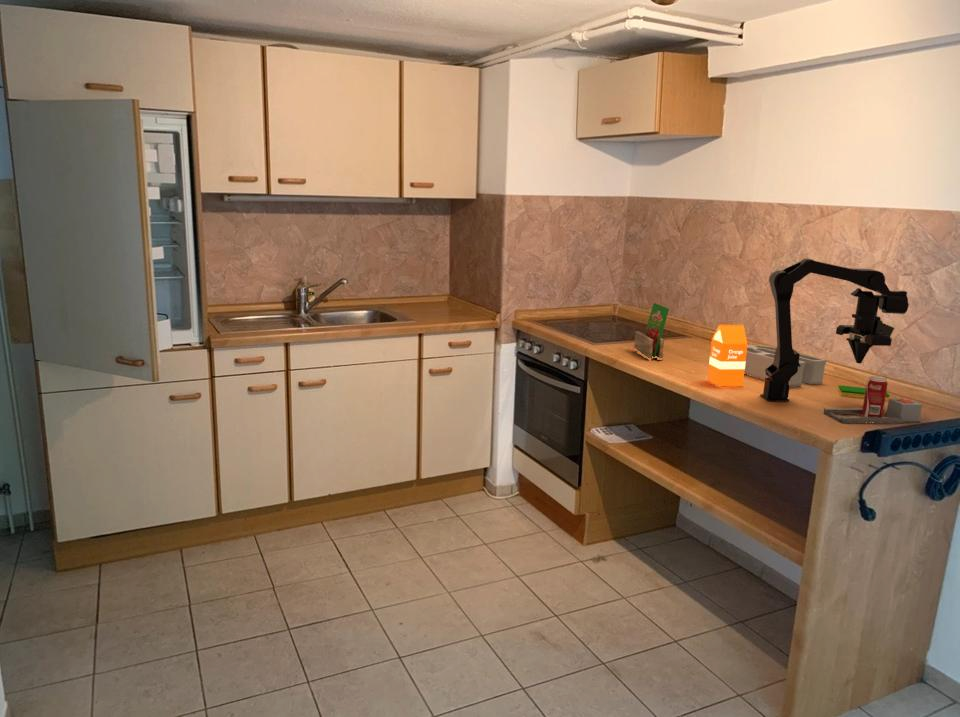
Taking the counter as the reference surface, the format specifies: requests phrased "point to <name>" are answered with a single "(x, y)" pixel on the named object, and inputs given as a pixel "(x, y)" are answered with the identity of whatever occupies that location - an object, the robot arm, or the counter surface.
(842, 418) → the grey shallow tray
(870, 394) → the soda can
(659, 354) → the packet holder
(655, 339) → the tomato puree packet
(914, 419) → the grey push button box
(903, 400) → the plunger
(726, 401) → the counter surface
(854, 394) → the dish sponge
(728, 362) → the orange juice
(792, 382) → the grey compartment organizer
